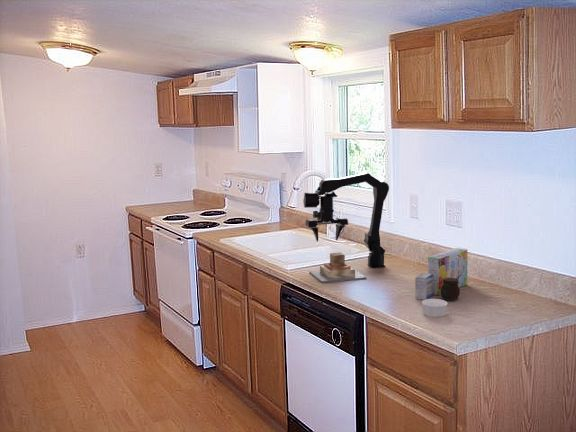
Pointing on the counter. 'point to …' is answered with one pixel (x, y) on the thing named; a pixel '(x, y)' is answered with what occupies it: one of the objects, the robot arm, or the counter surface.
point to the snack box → (448, 267)
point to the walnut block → (337, 259)
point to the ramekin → (434, 307)
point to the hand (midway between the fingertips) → (326, 240)
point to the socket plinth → (337, 271)
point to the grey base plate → (324, 279)
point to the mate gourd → (450, 289)
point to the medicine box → (424, 286)
